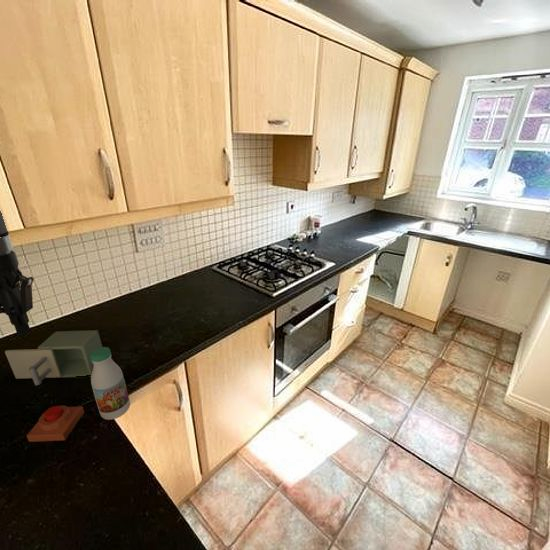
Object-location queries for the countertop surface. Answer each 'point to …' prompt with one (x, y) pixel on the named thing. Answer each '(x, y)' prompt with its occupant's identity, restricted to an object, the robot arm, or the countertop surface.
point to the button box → (56, 425)
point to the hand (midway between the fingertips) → (24, 333)
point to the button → (53, 413)
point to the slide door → (33, 364)
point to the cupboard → (73, 351)
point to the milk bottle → (108, 385)
